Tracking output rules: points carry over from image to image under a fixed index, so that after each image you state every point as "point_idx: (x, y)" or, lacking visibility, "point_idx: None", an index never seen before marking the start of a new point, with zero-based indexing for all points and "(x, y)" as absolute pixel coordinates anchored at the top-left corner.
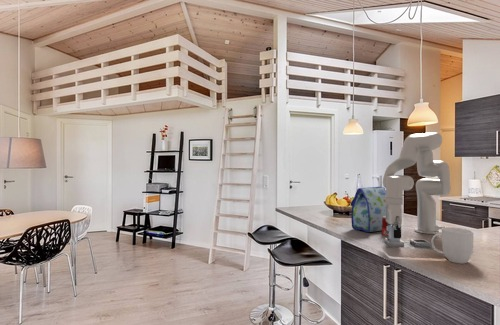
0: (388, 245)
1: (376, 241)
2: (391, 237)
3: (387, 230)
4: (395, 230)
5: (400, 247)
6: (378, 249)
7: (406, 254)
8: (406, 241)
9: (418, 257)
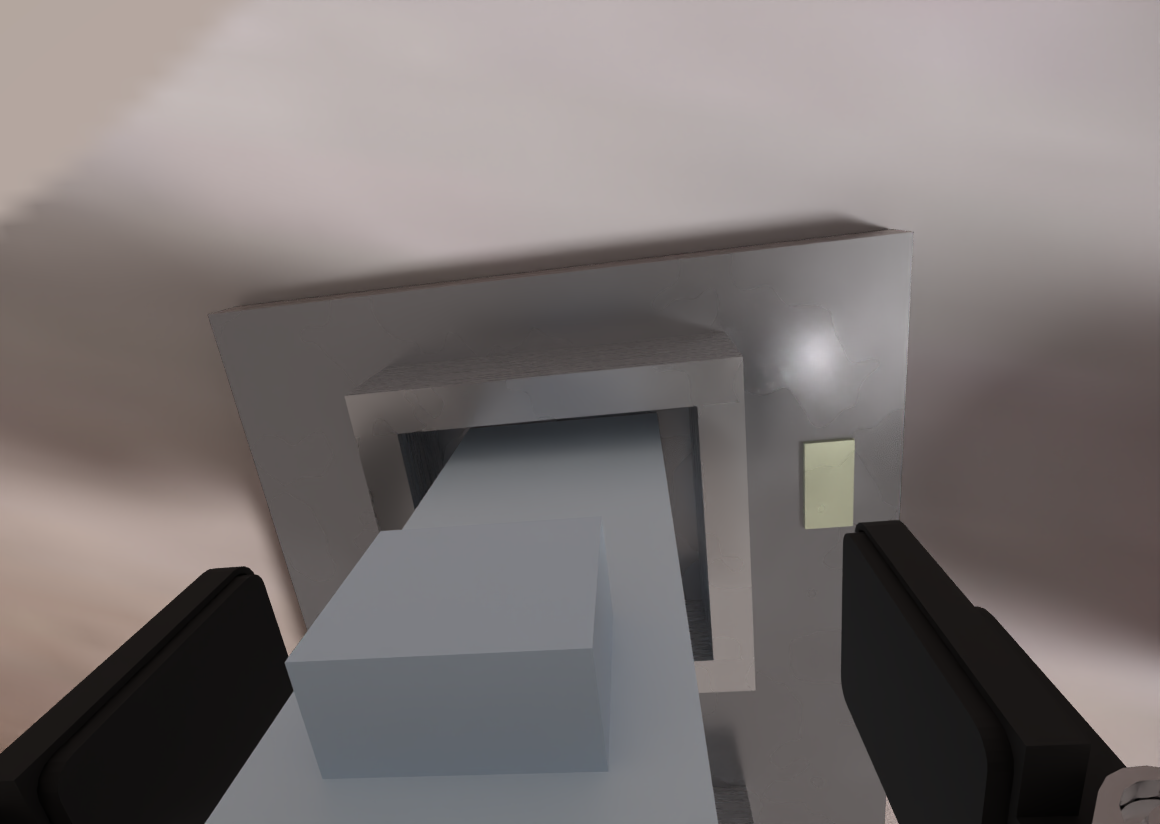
0: (390, 362)
1: (923, 153)
2: (417, 517)
3: (469, 529)
4: (17, 801)
5: (326, 561)
6: (158, 99)
7: (79, 562)
8: (840, 762)
9: (12, 678)
